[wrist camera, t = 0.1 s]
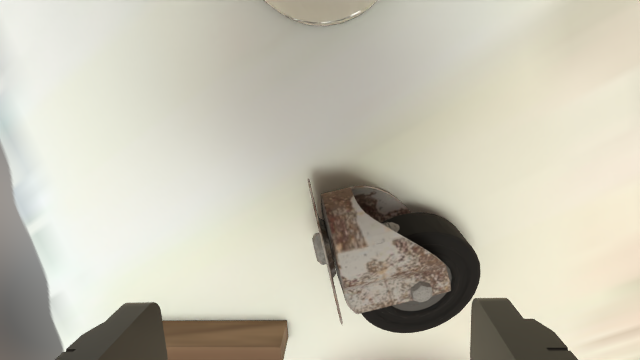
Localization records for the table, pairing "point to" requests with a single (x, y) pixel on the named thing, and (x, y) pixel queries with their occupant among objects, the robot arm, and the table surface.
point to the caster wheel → (394, 259)
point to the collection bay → (225, 340)
